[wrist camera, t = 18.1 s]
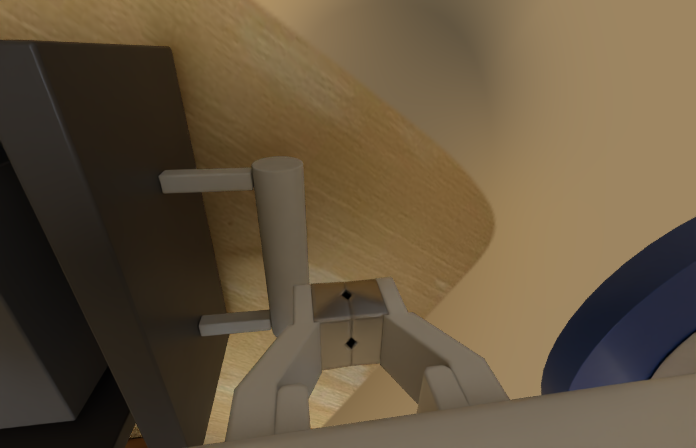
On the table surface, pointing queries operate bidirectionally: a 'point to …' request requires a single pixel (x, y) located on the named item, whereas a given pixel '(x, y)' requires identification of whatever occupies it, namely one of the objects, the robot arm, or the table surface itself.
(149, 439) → the drawer
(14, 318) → the dark grey rectangular box
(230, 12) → the table surface
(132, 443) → the stand
